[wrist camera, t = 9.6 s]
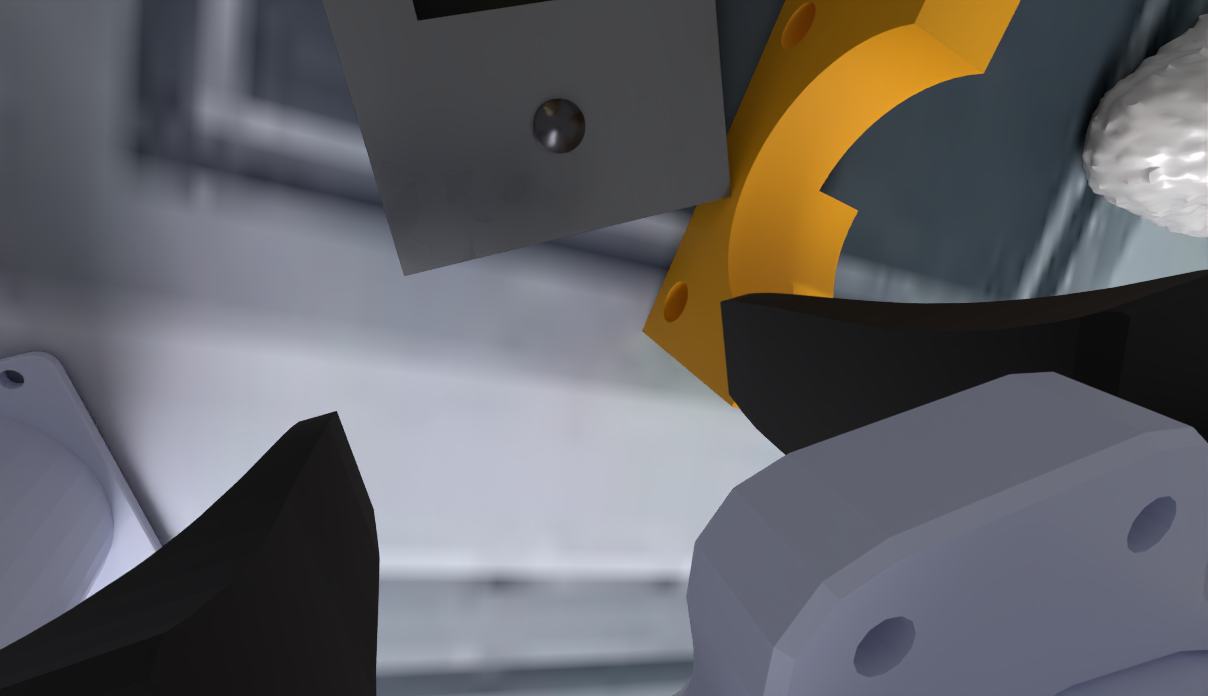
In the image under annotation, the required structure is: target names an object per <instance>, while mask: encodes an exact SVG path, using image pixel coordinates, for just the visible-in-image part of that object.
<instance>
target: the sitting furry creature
mask: <svg viewBox="0 0 1208 696" xmlns="http://www.w3.org/2000/svg"><path fill="white" fill-rule="evenodd" d="M1082 159H1083V168H1084V170H1085V171H1086V178H1087V179H1088V185H1089V186H1090V187H1091V188H1092V190H1093V192H1094V193H1096V194H1101V195H1104V197H1105V200H1107V201H1108V202H1110V203H1113V204H1114V205H1117V206H1118V207H1121V208H1125V209H1127V210H1128V211H1130V212H1132V213H1134V214H1135V215H1140V216H1141V218H1143V219H1147V220H1151V221H1152V222H1153V223H1154V225H1157V226H1165V227H1166V229H1167V230H1168V231H1170V232H1175V233H1177V232H1179V233H1182V234H1185V235H1189V236H1194V237H1208V14H1204V15H1200V16H1199V17H1198V22H1197V23H1196V25H1195V26H1194V27H1193V28H1189V29H1188V30H1187V31H1186V32H1185V33H1183V34H1182V35H1181V36H1180V37H1177V38H1176V39H1174V40H1172V41H1170V42H1169V43H1167V44H1165V45H1163V46H1162V47H1160V48H1159V50H1158V52H1157V54H1156V55H1155V56H1151V57H1149V58H1147V59H1145V60H1144V61H1143V62H1142V63H1141V65H1140V66H1139V67H1138V68H1137V69H1136V70H1135V72H1134V73H1132V74H1130V75H1128V76H1127V77H1126V78H1124V79H1121V80H1120V81H1118V82H1117V83H1116V84H1115V86H1114V87H1113V88H1112V89H1110V90H1109V91H1108V92H1106V93H1105V94H1104V97H1103V98H1101V99H1100V101H1099V104H1098V107H1097V109H1096V110H1095V111H1094V112H1093V113H1092V115H1091V119H1090V122H1089V125H1088V128H1087V132H1086V137H1085V142H1084V148H1083V153H1082Z"/></svg>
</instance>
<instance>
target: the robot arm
mask: <svg viewBox="0 0 1208 696" xmlns="http://www.w3.org/2000/svg"><path fill="white" fill-rule="evenodd" d="M720 305H721V316H722V326H723V337H724V348H725V358H726V369H727V379H728V390H729V395H730V397H731V398H732V399H733V400H734V402H735V403H736V404H737V406H738V407H739V408H740V409H741V411H742V412H743V413H744V414H745V416H746V417H747V418H748V419H749V420H750V422H751V423H752V424H753V425H754V426H755V427H756V429H758V430H759V431H760V432H761V433H762V434H763V435H764V436H765V437H766V438H767V439H768V440H769V441H771V442H772V443H773V444H774V445H775V446H776V447H777V448H778V449H779V450H781V451H782V452H783V453H784V454H785V456H784V457H782V458H780V459H779V460H777V461H776V462H774V463H772V464H771V465H769V466H768V467H766V468H765V469H763V470H761V471H760V472H758V473H757V474H755V475H753V476H752V477H750V478H749V479H747V480H745V481H744V482H742V483H741V484H739V485H737V486H736V487H734V488H733V489H732V490H731V492H730V493H729V495H728V496H727V498H726V499H725V500H724V502H723V503H722V505H721V506H720V507H719V509H718V510H717V512H716V513H715V514H714V516H713V517H712V519H711V520H710V521H709V523H708V524H707V526H706V527H705V529H704V530H703V531H702V533H701V534H700V536H699V537H698V538H697V540H696V541H695V545H694V552H693V558H692V564H691V571H690V577H689V583H688V590H687V596H686V597H687V604H688V611H689V618H690V625H691V632H692V638H693V645H694V665H693V674H692V676H691V677H690V679H689V680H688V682H687V683H686V685H685V686H684V687H683V688H682V689H681V690H680V691H678V692H677V693H676V694H674V695H673V696H1208V270H1200V271H1195V272H1190V273H1184V274H1179V275H1174V276H1169V277H1164V278H1159V279H1154V280H1149V281H1144V282H1139V283H1134V284H1129V285H1124V286H1119V287H1113V288H1107V289H1101V290H1094V291H1087V292H1080V293H1073V294H1066V295H1059V296H1050V297H1041V298H1032V299H1020V300H1007V301H995V302H978V303H927V304H923V303H894V302H877V301H862V300H850V299H839V298H828V297H818V296H808V295H797V294H784V293H750V294H745V295H742V296H738V297H735V298H731V299H728V300H724V301H721V302H720ZM6 370H13V371H16V372H19V373H20V374H21V375H22V376H23V378H24V383H15V382H12V381H10V380H9V379H8V378H7V377H6V373H5V371H6ZM379 558H380V557H379V548H378V539H377V531H376V523H375V516H374V509H373V507H372V504H371V501H370V499H369V496H368V493H367V490H366V488H365V485H364V482H363V480H362V477H361V474H360V472H359V469H358V466H357V464H356V461H355V458H354V456H353V453H352V450H351V448H350V445H349V442H348V440H347V437H346V434H345V432H344V429H343V426H342V424H341V421H340V418H339V416H338V413H337V411H335V412H331V413H328V414H324V415H321V416H317V417H314V418H310V419H307V420H303V421H300V422H298V423H296V424H295V425H294V426H293V427H291V428H290V429H289V430H288V431H287V432H286V433H285V434H284V435H283V436H282V437H281V438H280V439H279V440H278V441H277V442H276V443H275V444H274V445H273V446H272V447H271V448H270V449H269V450H268V451H267V452H266V453H265V454H264V455H263V456H262V457H261V458H260V459H259V460H258V461H257V462H256V463H255V465H254V466H253V467H252V468H251V469H250V470H249V471H248V472H247V473H246V474H245V475H244V476H243V477H242V478H241V479H240V480H239V481H238V482H237V483H235V484H234V485H233V486H232V487H231V488H230V489H229V490H228V491H227V492H226V493H225V494H224V495H222V496H221V497H220V498H219V499H218V500H217V501H216V502H215V503H214V504H213V505H212V506H211V507H210V508H208V509H207V510H206V511H205V512H204V513H203V514H202V515H201V516H200V517H199V518H197V519H196V520H195V521H194V522H193V523H192V524H190V525H189V526H188V527H187V528H186V529H184V530H183V531H182V532H181V533H179V534H178V535H177V536H176V537H174V538H173V539H172V540H171V541H169V542H168V543H167V544H165V545H164V546H163V547H162V545H161V544H160V542H159V540H158V538H157V536H156V535H155V533H154V531H153V529H152V527H151V526H150V524H149V522H148V520H147V518H146V517H145V515H144V513H143V511H142V509H141V507H140V506H139V504H138V502H137V500H136V498H135V497H134V495H133V493H132V491H131V489H130V488H129V486H128V484H127V482H126V480H125V478H124V477H123V475H122V473H121V471H120V469H119V468H118V466H117V464H116V462H115V460H114V459H113V457H112V455H111V453H110V451H109V450H108V448H107V446H106V444H105V442H104V440H103V439H102V437H101V435H100V433H99V431H98V430H97V428H96V426H95V424H94V422H93V421H92V419H91V417H90V415H89V413H88V411H87V410H86V408H85V406H84V404H83V402H82V401H81V399H80V397H79V395H78V393H77V392H76V390H75V388H74V386H73V384H72V382H71V381H70V379H69V377H68V375H67V373H66V372H65V370H64V368H63V366H62V364H61V363H60V362H59V361H58V360H57V358H56V357H54V356H52V355H50V354H48V353H45V352H40V351H35V352H27V353H23V354H19V355H15V356H10V357H6V358H2V359H0V696H376V655H377V627H378V598H379Z"/></svg>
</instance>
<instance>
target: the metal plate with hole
mask: <svg viewBox="0 0 1208 696" xmlns="http://www.w3.org/2000/svg"><path fill="white" fill-rule="evenodd" d="M322 2H323V5H324V8H325V12H326V15H327V18H328V22H329V25H330V28H331V32H332V35H333V39H334V42H335V45H336V49H337V52H338V55H339V59H340V62H341V65H342V69H343V72H344V75H345V79H346V82H347V86H348V89H349V92H350V96H351V99H352V102H353V106H354V109H355V112H356V116H357V119H358V122H359V126H360V129H361V133H362V136H363V139H364V143H365V146H366V149H367V153H368V156H369V159H370V163H371V166H372V170H373V173H374V176H375V180H376V183H377V186H378V190H379V193H380V196H381V200H382V203H383V206H384V210H385V213H386V217H387V220H388V223H389V227H390V230H391V233H392V237H393V240H394V243H395V247H396V250H397V253H398V257H399V260H400V264H401V267H402V270H403V274H404V276H407V275H411V274H415V273H419V272H423V271H427V270H431V269H436V268H440V267H444V266H448V265H452V264H456V263H460V262H464V261H468V260H473V259H477V258H481V257H485V256H489V255H493V254H497V253H501V252H505V251H510V250H514V249H518V248H522V247H526V246H530V245H534V244H538V243H542V242H547V241H551V240H555V239H559V238H563V237H567V236H571V235H575V234H580V233H584V232H588V231H592V230H596V229H600V228H604V227H608V226H612V225H617V224H621V223H625V222H629V221H633V220H637V219H641V218H645V217H649V216H654V215H658V214H662V213H666V212H670V211H674V210H678V209H682V208H686V207H691V206H695V205H699V204H703V203H707V202H711V201H715V200H719V199H724V198H728V197H731V189H730V176H729V164H728V152H727V139H726V127H725V115H724V102H723V90H722V78H721V65H720V53H719V41H718V28H717V16H716V4H715V0H552V1H545V2H539V3H532V4H525V5H519V6H512V7H505V8H499V9H492V10H486V11H479V12H472V13H466V14H459V15H453V16H446V17H439V18H433V19H426V20H419V21H417V17H416V13H415V9H414V5H413V0H322Z"/></svg>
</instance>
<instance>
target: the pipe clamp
mask: <svg viewBox="0 0 1208 696" xmlns="http://www.w3.org/2000/svg"><path fill="white" fill-rule="evenodd" d="M1019 2H1020V0H785V3H784V5H783V7H782V10H781V12H780V14H779V17H778V19H777V21H776V23H775V26H774V28H773V30H772V33H771V35H770V37H769V40H768V42H767V44H766V47H765V49H764V51H763V54H762V56H761V58H760V60H759V63H758V65H757V67H756V70H755V72H754V74H753V77H752V79H751V81H750V84H749V86H748V88H747V91H746V93H745V95H744V97H743V100H742V102H741V104H740V107H739V109H738V111H737V114H736V116H735V118H734V121H733V123H732V125H731V128H730V130H729V132H728V134H727V137H726V139H727V152H728V164H729V176H730V189H731V197H728V198H724V199H719V200H715V201H711V202H707V203H703V204H699V205H697V206H696V208H695V211H694V213H693V215H692V218H691V220H690V222H689V225H688V227H687V229H686V232H685V234H684V236H683V239H682V241H681V243H680V245H679V248H678V250H677V252H676V255H675V257H674V259H673V262H672V264H671V266H670V269H669V271H668V273H667V276H666V278H665V280H664V282H663V285H662V287H661V289H660V292H659V294H658V296H657V299H656V301H655V303H654V306H653V308H652V310H651V313H650V315H649V317H648V319H647V322H646V324H645V326H644V329H643V332H644V333H645V334H646V335H647V336H649V337H650V338H651V339H652V340H653V341H655V342H656V343H657V344H658V345H659V346H660V347H662V348H663V349H664V350H665V351H666V352H668V353H669V354H670V355H671V356H672V357H674V358H675V359H676V360H677V361H678V362H680V363H681V364H682V365H683V366H684V367H686V368H687V369H688V370H689V371H690V372H692V373H693V374H694V375H695V376H696V377H697V378H699V379H700V380H701V381H702V382H703V383H705V384H706V385H707V386H708V387H709V388H711V389H712V390H713V391H714V392H715V393H717V394H718V395H719V396H720V397H721V398H723V399H724V400H725V401H726V402H727V403H729V404H730V405H731V406H732V407H736V408H739V407H738V406H737V404H736V403H735V402H734V400H733V399H732V398H731V397H730V395H729V390H728V379H727V369H726V358H725V348H724V337H723V326H722V316H721V305H720V302H721V301H724V300H728V299H731V298H735V297H738V296H742V295H745V294H750V293H784V294H797V295H808V296H818V297H828V298H833V291H834V279H835V272H836V267H837V262H838V258H839V254H840V251H841V248H842V245H843V242H844V240H845V237H846V235H847V232H848V230H849V228H850V226H851V224H852V222H853V220H854V218H855V216H856V214H857V212H858V210H856V209H854V208H852V207H850V206H848V205H846V204H844V203H842V202H840V201H838V200H836V199H834V198H832V197H830V196H828V195H826V194H824V193H822V192H820V191H819V190H820V188H821V187H822V185H823V183H824V182H825V180H826V178H827V177H828V175H829V174H830V172H831V171H832V169H833V168H834V167H835V165H836V164H837V162H838V161H839V160H840V158H841V157H842V156H843V155H844V153H845V152H846V151H847V150H848V149H849V147H850V146H851V145H852V144H853V143H854V142H855V141H856V140H857V139H858V138H859V137H860V135H862V134H863V133H864V132H865V131H866V130H867V129H868V128H869V127H870V126H871V125H872V124H873V123H874V122H876V121H877V120H878V119H879V118H880V117H882V116H883V115H884V114H885V113H887V112H888V111H889V110H891V109H892V108H893V107H895V106H896V105H898V104H899V103H901V102H902V101H904V100H906V99H907V98H909V97H910V96H912V95H914V94H916V93H918V92H920V91H922V90H924V89H926V88H928V87H930V86H933V85H935V84H938V83H940V82H943V81H946V80H949V79H953V78H957V77H961V76H966V75H972V74H982V73H984V71H985V69H986V68H987V66H988V64H989V62H990V60H991V58H992V56H993V54H994V52H995V50H996V48H997V46H998V44H999V42H1000V40H1001V38H1002V36H1003V34H1004V32H1005V30H1006V28H1007V26H1008V24H1009V22H1010V20H1011V18H1012V16H1013V14H1014V12H1015V10H1016V8H1017V6H1018V4H1019ZM739 409H740V408H739Z"/></svg>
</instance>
